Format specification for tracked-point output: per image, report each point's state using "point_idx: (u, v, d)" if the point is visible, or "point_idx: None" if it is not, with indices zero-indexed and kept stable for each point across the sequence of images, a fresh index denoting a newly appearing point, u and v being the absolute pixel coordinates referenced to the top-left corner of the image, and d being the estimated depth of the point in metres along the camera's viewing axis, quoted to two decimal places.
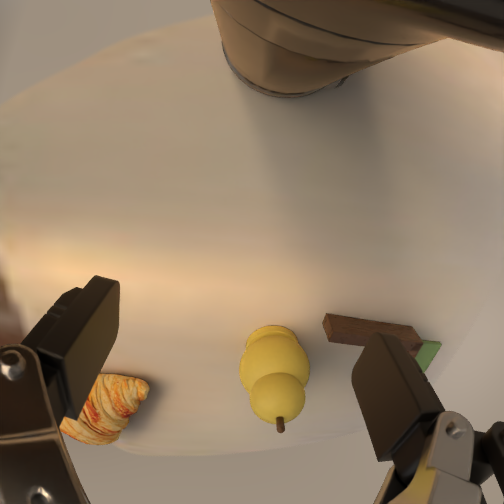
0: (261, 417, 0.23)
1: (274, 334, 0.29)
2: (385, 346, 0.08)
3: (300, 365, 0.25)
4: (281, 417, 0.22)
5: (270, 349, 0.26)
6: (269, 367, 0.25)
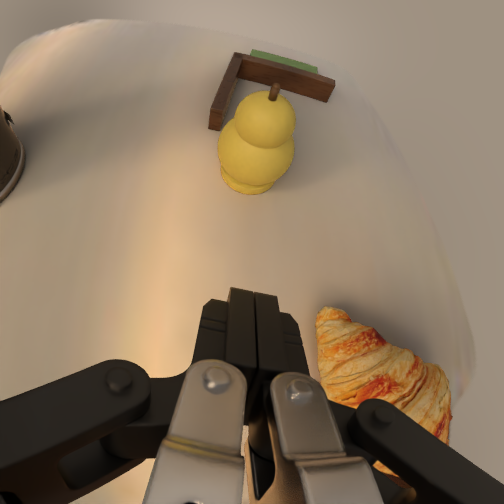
0: (278, 117, 0.21)
1: None
2: (255, 304, 0.09)
3: (235, 116, 0.25)
4: (268, 96, 0.20)
5: (220, 145, 0.24)
6: (232, 135, 0.23)
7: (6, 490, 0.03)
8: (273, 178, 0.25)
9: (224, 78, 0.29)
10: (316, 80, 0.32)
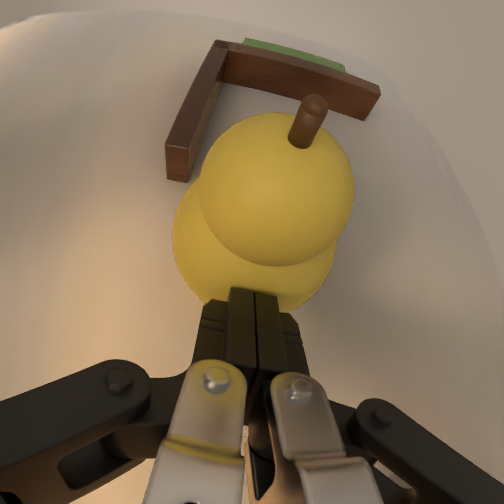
0: (320, 200, 0.07)
1: None
2: (255, 304, 0.09)
3: None
4: (288, 132, 0.07)
5: (174, 242, 0.11)
6: (197, 229, 0.10)
7: (6, 490, 0.03)
8: (292, 309, 0.12)
9: (194, 83, 0.16)
10: (351, 85, 0.19)
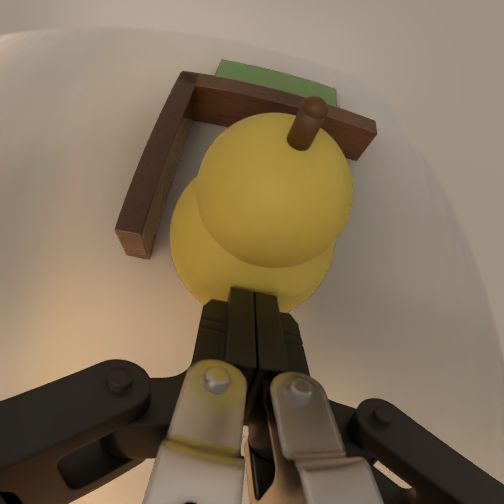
0: (321, 202, 0.07)
1: None
2: (255, 304, 0.09)
3: None
4: (287, 135, 0.07)
5: (172, 246, 0.11)
6: (196, 232, 0.10)
7: (6, 490, 0.03)
8: (292, 308, 0.12)
9: (152, 138, 0.14)
10: (342, 124, 0.17)
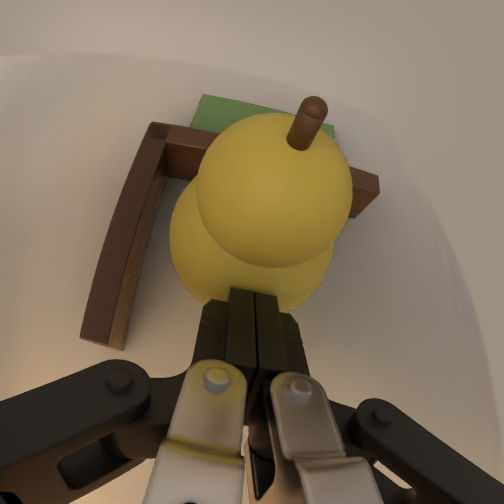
0: (321, 201, 0.07)
1: None
2: (255, 304, 0.09)
3: None
4: (287, 135, 0.07)
5: (172, 247, 0.11)
6: (196, 232, 0.10)
7: (6, 490, 0.03)
8: (293, 307, 0.12)
9: (114, 220, 0.12)
10: None
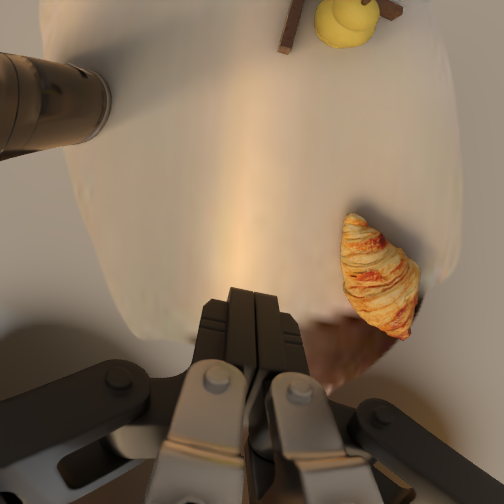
0: (368, 18, 0.21)
1: None
2: (255, 304, 0.09)
3: None
4: (361, 1, 0.20)
5: (318, 19, 0.25)
6: (329, 17, 0.23)
7: (6, 490, 0.03)
8: (358, 45, 0.27)
9: (292, 7, 0.25)
10: (384, 7, 0.25)
